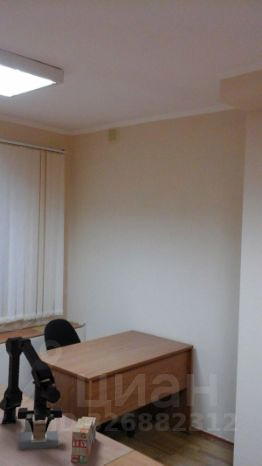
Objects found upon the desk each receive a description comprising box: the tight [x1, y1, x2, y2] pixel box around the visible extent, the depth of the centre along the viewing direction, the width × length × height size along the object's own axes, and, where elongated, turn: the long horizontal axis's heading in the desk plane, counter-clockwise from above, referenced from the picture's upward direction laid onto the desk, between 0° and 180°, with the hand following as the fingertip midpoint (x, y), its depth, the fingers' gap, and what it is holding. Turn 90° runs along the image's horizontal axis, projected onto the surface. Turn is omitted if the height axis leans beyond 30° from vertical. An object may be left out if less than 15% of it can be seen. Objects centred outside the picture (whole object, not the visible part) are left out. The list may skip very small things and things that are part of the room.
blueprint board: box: [18, 430, 59, 450], centre depth 185 cm, size 13×16×1 cm
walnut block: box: [33, 420, 46, 438], centre depth 185 cm, size 5×5×5 cm
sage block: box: [24, 415, 35, 432], centre depth 196 cm, size 5×5×5 cm
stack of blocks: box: [70, 416, 97, 464], centre depth 180 cm, size 21×6×12 cm, turn 175°
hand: (39, 432), depth 185 cm, fingers closed on walnut block, 5 cm apart
